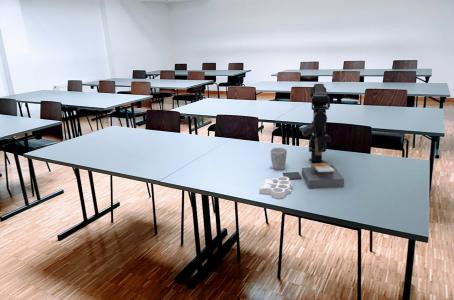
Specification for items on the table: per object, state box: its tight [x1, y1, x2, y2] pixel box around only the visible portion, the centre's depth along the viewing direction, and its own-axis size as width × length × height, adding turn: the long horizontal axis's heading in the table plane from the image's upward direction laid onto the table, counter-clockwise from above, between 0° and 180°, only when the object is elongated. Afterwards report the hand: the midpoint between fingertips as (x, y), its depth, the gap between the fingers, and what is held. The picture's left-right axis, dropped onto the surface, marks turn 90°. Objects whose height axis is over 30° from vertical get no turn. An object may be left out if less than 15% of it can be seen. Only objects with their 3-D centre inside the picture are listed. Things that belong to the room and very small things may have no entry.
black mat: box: [282, 171, 303, 181], centre depth 173 cm, size 8×8×1 cm
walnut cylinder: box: [315, 142, 323, 156], centre depth 167 cm, size 3×3×9 cm
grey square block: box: [301, 163, 345, 190], centre depth 165 cm, size 16×16×8 cm
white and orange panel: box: [310, 162, 334, 172], centre depth 164 cm, size 15×7×1 cm, turn 0°
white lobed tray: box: [258, 176, 295, 200], centre depth 159 cm, size 3×18×15 cm
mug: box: [270, 147, 288, 170], centre depth 185 cm, size 11×8×10 cm
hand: (318, 151), depth 168 cm, fingers closed on walnut cylinder, 3 cm apart
